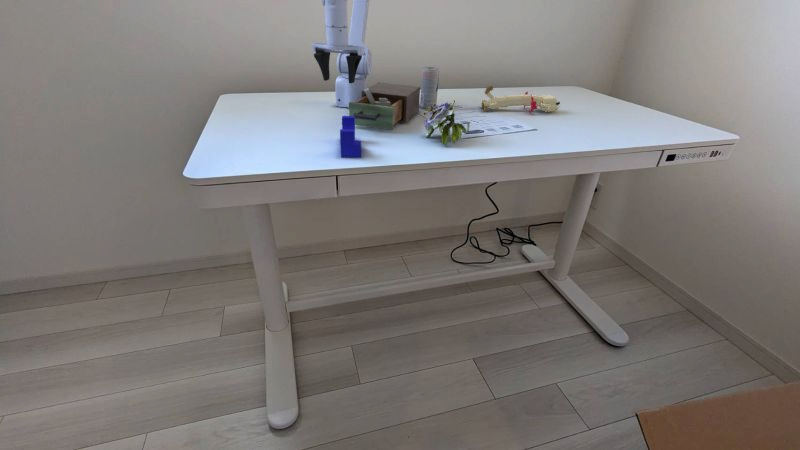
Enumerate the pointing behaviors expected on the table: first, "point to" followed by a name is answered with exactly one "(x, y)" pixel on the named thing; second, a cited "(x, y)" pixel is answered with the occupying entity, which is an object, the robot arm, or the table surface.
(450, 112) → the passion flower
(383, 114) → the drawer
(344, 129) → the blue stepped block
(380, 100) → the lighter
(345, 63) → the robot arm
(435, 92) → the energy drink
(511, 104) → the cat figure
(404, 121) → the cabinet
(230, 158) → the table surface
